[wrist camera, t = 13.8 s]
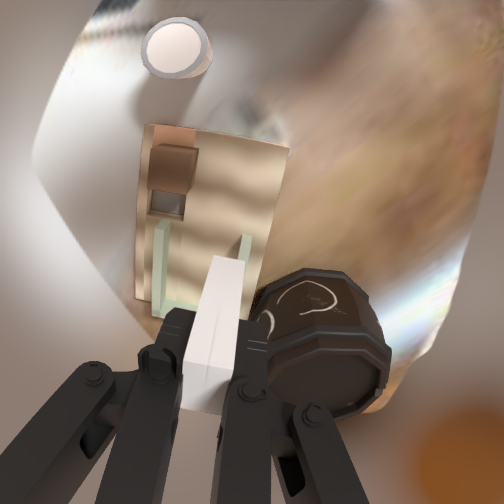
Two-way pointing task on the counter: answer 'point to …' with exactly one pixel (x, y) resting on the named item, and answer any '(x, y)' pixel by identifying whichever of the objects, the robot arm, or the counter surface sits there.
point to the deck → (210, 210)
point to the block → (172, 168)
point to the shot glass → (176, 49)
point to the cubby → (160, 269)
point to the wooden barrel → (323, 342)
